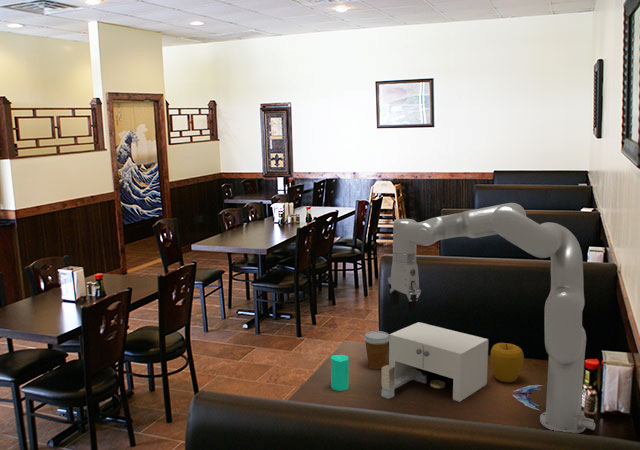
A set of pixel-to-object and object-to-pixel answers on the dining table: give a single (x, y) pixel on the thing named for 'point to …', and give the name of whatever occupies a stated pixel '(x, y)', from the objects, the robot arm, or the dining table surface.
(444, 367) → the cabinet
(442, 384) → the brass token
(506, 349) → the apple
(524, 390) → the decorative blades
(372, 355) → the disposable coffee cup
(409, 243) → the robot arm
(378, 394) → the dining table surface
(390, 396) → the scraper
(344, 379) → the candle
